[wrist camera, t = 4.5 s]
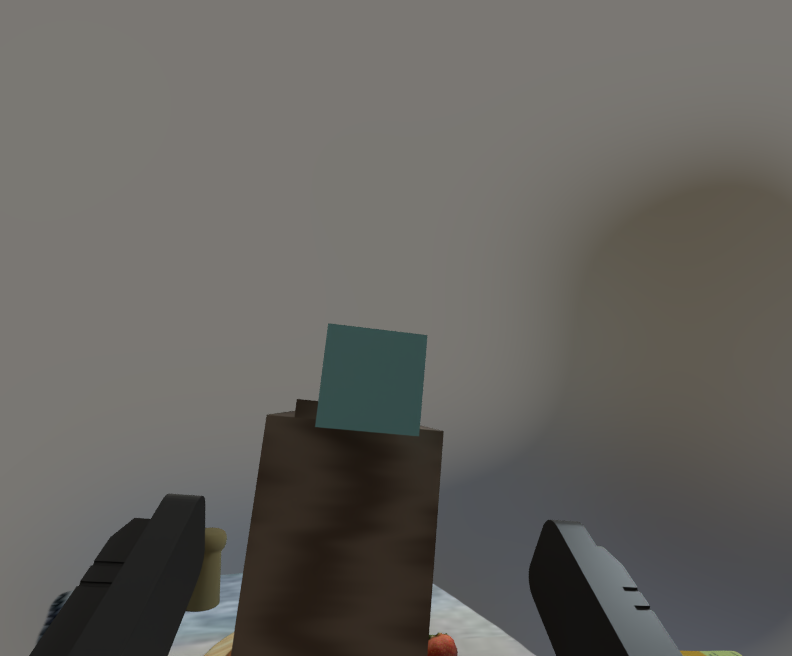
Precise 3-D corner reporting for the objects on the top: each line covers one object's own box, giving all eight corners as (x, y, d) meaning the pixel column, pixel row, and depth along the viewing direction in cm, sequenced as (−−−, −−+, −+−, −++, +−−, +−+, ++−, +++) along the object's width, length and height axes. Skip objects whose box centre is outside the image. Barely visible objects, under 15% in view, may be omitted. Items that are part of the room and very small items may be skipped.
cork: (222, 594, 72) (233, 525, 74) (215, 611, 66) (227, 535, 68) (184, 594, 71) (196, 523, 73) (173, 611, 65) (187, 533, 67)
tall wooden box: (364, 828, 34) (402, 410, 41) (389, 1180, 19) (444, 413, 25) (236, 830, 33) (295, 399, 39) (148, 1208, 18) (269, 396, 24)
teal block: (370, 418, 40) (374, 375, 41) (419, 436, 17) (427, 335, 17) (327, 414, 40) (332, 370, 40) (315, 426, 16) (328, 323, 17)
